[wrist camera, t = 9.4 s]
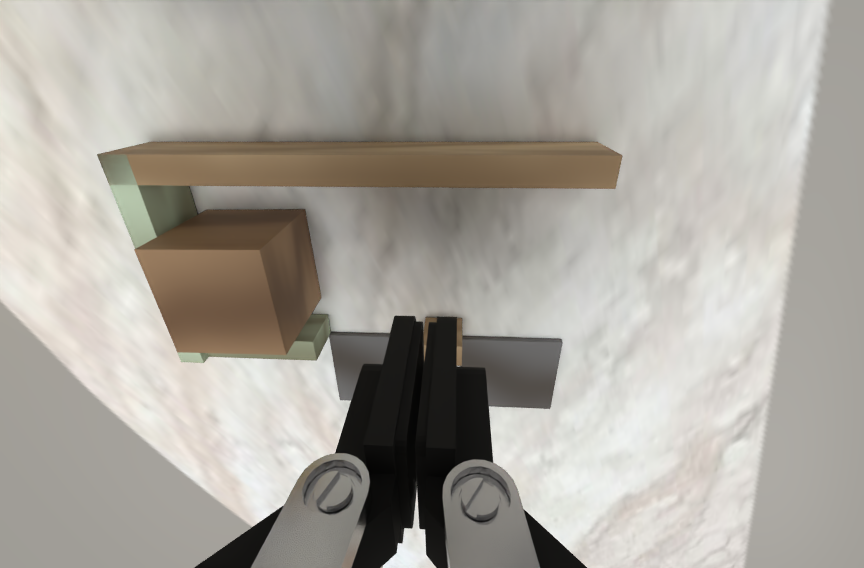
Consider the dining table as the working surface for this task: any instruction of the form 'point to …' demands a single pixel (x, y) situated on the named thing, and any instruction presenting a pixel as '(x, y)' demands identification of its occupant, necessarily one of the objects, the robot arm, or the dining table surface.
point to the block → (234, 280)
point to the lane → (363, 167)
